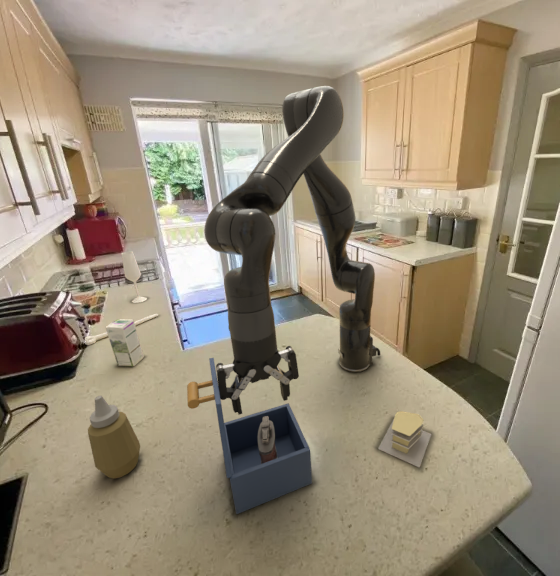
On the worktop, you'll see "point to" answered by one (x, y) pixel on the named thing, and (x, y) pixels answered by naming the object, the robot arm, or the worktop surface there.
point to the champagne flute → (132, 272)
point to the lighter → (266, 441)
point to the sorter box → (273, 474)
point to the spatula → (93, 339)
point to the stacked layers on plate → (406, 438)
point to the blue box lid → (195, 401)
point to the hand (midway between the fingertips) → (262, 404)
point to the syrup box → (125, 342)
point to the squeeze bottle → (112, 440)
